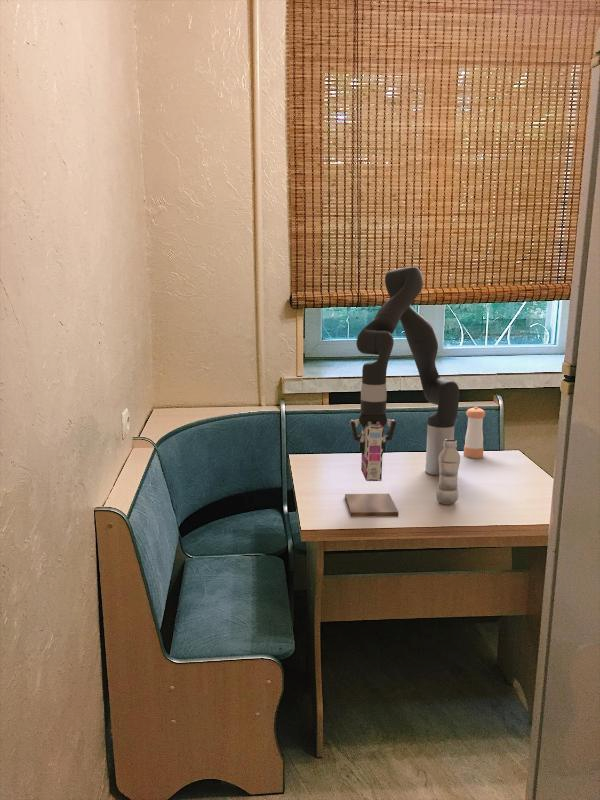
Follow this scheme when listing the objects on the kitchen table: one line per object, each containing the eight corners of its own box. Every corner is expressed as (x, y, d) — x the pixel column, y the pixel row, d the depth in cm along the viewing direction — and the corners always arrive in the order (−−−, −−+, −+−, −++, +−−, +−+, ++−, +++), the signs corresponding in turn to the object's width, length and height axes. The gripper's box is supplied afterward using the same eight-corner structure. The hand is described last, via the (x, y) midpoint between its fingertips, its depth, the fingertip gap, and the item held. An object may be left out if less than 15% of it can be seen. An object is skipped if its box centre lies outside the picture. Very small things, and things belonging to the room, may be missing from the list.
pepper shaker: (464, 457, 264) (466, 408, 260) (462, 452, 271) (465, 404, 267) (483, 458, 263) (486, 409, 259) (482, 453, 270) (485, 404, 266)
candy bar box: (382, 481, 206) (384, 427, 202) (365, 481, 206) (367, 427, 202) (376, 469, 217) (378, 418, 213) (360, 470, 216) (362, 418, 213)
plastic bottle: (433, 499, 219) (436, 438, 215) (454, 499, 220) (457, 437, 215) (439, 507, 213) (442, 443, 209) (460, 506, 213) (464, 443, 209)
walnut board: (388, 497, 221) (389, 493, 221) (398, 515, 206) (398, 511, 205) (344, 497, 220) (344, 494, 220) (350, 516, 205) (350, 512, 205)
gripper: (395, 395, 210) (393, 449, 214) (347, 395, 209) (346, 450, 213) (400, 400, 203) (398, 457, 206) (350, 400, 202) (349, 457, 206)
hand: (372, 453), depth 210 cm, fingers closed on candy bar box, 5 cm apart
